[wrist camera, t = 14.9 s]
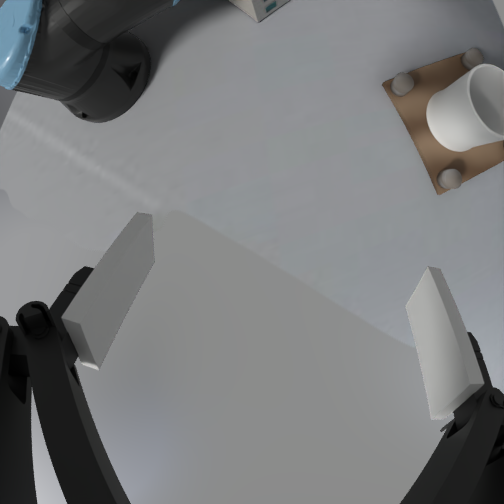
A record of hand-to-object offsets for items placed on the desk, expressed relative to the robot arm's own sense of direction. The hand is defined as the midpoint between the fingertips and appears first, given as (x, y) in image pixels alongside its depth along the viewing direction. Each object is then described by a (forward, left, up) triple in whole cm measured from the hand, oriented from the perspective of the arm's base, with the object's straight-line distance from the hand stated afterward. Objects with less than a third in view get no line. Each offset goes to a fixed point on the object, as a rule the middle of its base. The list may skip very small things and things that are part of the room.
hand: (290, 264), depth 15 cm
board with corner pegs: (-3, +26, -27) cm, 37 cm away
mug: (-3, +26, -26) cm, 37 cm away
